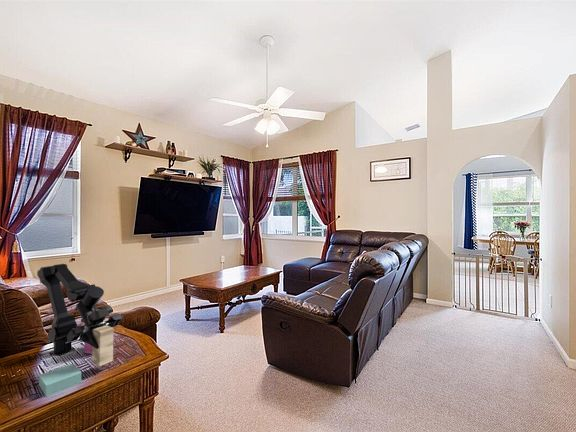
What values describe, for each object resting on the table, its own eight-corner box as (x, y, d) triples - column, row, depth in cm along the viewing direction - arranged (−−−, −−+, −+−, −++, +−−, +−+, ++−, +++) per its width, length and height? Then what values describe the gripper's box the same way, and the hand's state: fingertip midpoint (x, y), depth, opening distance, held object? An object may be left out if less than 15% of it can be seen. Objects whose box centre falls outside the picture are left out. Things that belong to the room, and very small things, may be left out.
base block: (46, 397, 98) (46, 385, 98) (39, 386, 104) (38, 375, 104) (81, 383, 105) (81, 372, 105) (72, 373, 112) (72, 363, 112)
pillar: (92, 362, 113) (93, 329, 113) (105, 357, 118) (106, 325, 118) (99, 366, 111) (100, 332, 111) (112, 360, 115) (113, 327, 115)
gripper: (70, 307, 108) (87, 343, 103) (119, 294, 124) (136, 325, 119) (59, 324, 111) (75, 360, 106) (108, 310, 128) (124, 340, 123)
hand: (105, 345), depth 114 cm, fingers closed on pillar, 5 cm apart
